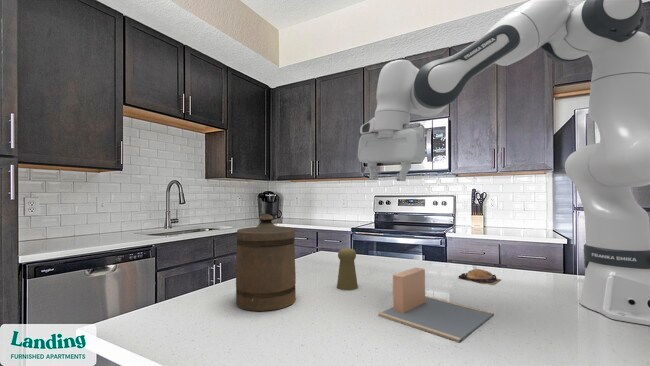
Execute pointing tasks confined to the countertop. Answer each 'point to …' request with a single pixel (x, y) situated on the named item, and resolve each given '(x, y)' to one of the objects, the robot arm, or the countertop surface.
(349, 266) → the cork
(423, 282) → the tile
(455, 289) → the countertop surface
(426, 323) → the mat
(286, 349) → the countertop surface
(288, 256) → the wooden container
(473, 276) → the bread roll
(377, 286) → the countertop surface
